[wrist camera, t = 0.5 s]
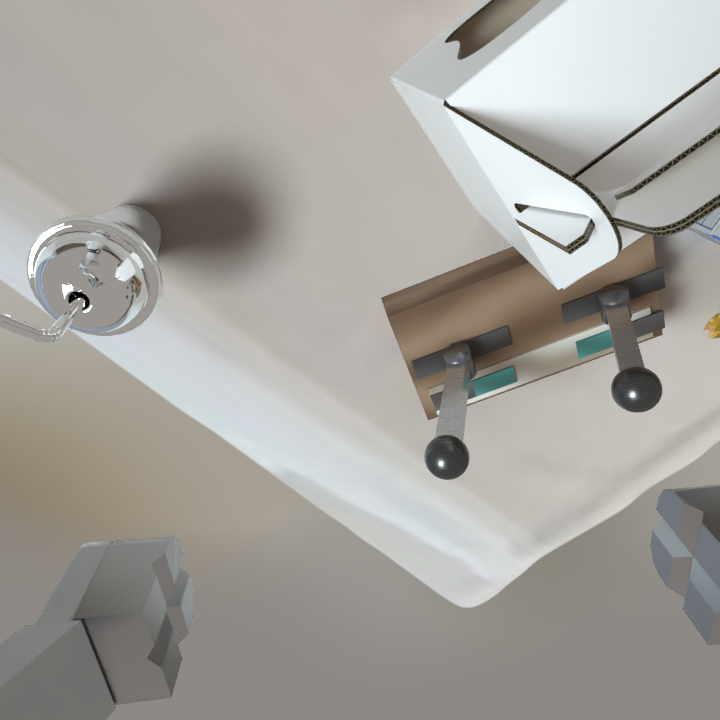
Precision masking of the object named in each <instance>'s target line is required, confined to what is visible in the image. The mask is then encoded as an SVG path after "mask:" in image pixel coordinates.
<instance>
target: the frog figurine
mask: <svg viewBox="0 0 720 720" xmlns="http://www.w3.org/2000/svg"><path fill="white" fill-rule="evenodd" d="M710 321H711V322H710V323H708V324H707V325H706V327H705V330H706V329H708V328H709V331H711V333H710V337H712V338H713V337H715V336H716V337H715V338H720V314H719V315H717V316H715V317H714V318H713V319H711V320H710ZM713 339H714V338H713Z"/></svg>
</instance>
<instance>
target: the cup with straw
mask: <svg viewBox="0 0 720 720" xmlns="http://www.w3.org/2000/svg"><path fill="white" fill-rule="evenodd" d="M161 236H162V235H161V229H160V226H159V224H158V222H157V220H156V219H155V218H154V217H153V215H152V214H150V213H149V212H148V211H146V210H145V209H143V208H141V207H138V206H135V205H121V206H118V207H115V208H114V209H112V210H109V211H107V212H106V213H104V214H102V215H100V216H96V215H79V214H78V215H72V216H67V217H63V218H61V219H58V220H56V221H53V222H52V223H51V224H49V225H48V226H46V227H45V228H44V229H43V230H42V231H41V232H40V233H39V234H38V236H37V237H36V238H35V240H34V242H33V244H32V246H31V249H30V251H29V255H28V260H27V276H28V279H29V283H30V287H31V289H32V291H33V293H34V295H35V297H36V298H37V300H38V301H39V302H40V304H41V305H42V307H43V308H44V309H45V310H46V311H47V312H48V313H49V314H50V315H51V316H52V317H53V318H54V319H55V320H57V321H56V322H55V323H54V325H53V326H52V327H51V328H50V329H47V330H46V329H41V328H38V327H36V326H33V325H30V324H28V323H25V322H23V321H20V320H18V319H15V318H13V317H10V316H8V315H5V314H3V313H0V327H2V328H4V329H7V330H9V331H12V332H15V333H17V334H20V335H22V336H25V337H28V338H30V339H33V340H35V341H39V342H48V343H49V342H54V341H57V340H59V339H60V338H61V337H62V335H63V334H64V332H65V331H66V330H67V329H68V327H69V328H71V329H74V330H77V331H80V332H83V333H86V334H91V335H98V336H113V335H119V334H123V333H126V332H129V331H131V330H134V329H135V328H137V327H138V326H140V325H142V324H143V323H144V322H146V321H147V320H148V319H149V318H150V317H151V316H152V315H153V314H154V312H155V310H156V309H157V307H158V306H159V303H160V300H161V297H162V293H163V277H162V271H161V268H160V265H159V263H158V260H157V255H158V251H159V247H160V243H161Z"/></svg>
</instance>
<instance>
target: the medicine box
mask: <svg viewBox="0 0 720 720" xmlns="http://www.w3.org/2000/svg"><path fill="white" fill-rule="evenodd" d="M688 229H690V230H692V231H694V232H696V233H698V234H699V235H701V236H703V237H705V238H707V239H709V240H710V241H712V242H714V243H717V244H719V245H720V207H719V208H717V209H716V210H714V211H713V212H711V213H710V214H708V215H707V216H705V217H704V218H702V219H701V220H699V221H698V222H696V223H695V224H693V225H692V226H690V227H689V228H688Z"/></svg>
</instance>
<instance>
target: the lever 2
mask: <svg viewBox="0 0 720 720" xmlns="http://www.w3.org/2000/svg"><path fill="white" fill-rule="evenodd" d="M598 300H599V306H600V312H601V318H602V322H603V323H605V324H607V325H608V326H609V330H610V335H611V339H612V343H613V348H614V352H615V357H616V361H617V366H618V370H619V373H618V374H617V375H616V376H615V378H614V380H613V382H612V386H611V392H612V396H613V398H614V400H615V402H616V403H617V404H618V405H619V406H620V407H621V408H623V409H625V410H627V411H630V412H645V411H648V410H650V409H652V408H653V407H654V406H655V405H656V404H657V403H658V402H659V400H660V399H661V396H662V384H661V382H660V380H659V378H658V377H657V375H656V374H655V373H653V372H652V371H651V370H649V369H646V368H645V367H644V363H643V360H642V356H641V353H640V349H639V346H638V342H637V339H636V335H635V332H634V328H633V325H632V321H631V318H632V312H631V304H630V297H629V289H628V287H626V286H624V285H618V284H616V285H609V286H606V287H604V288H602V289H601V290H600V291H599V292H598Z"/></svg>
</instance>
